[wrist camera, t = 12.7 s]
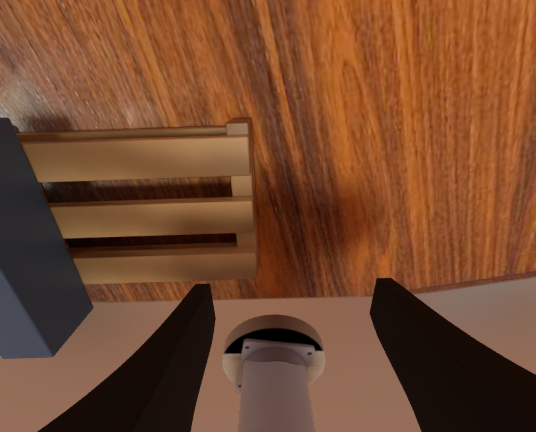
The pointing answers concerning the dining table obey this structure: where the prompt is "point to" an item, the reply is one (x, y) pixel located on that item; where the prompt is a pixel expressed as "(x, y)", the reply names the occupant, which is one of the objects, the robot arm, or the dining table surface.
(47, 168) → the rack
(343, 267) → the dining table surface
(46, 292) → the slate blue rectangular box
